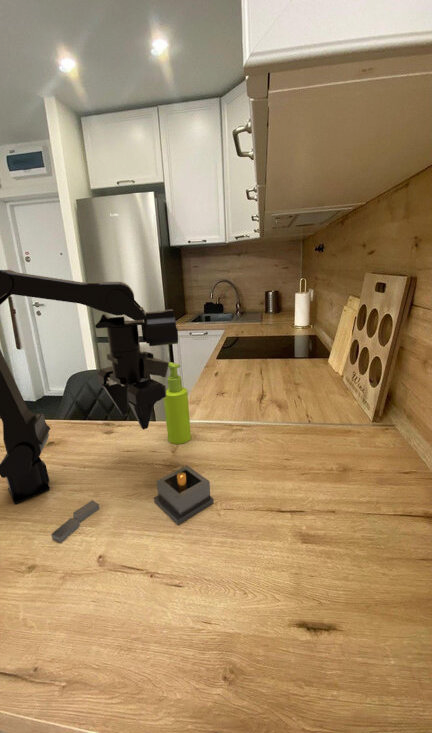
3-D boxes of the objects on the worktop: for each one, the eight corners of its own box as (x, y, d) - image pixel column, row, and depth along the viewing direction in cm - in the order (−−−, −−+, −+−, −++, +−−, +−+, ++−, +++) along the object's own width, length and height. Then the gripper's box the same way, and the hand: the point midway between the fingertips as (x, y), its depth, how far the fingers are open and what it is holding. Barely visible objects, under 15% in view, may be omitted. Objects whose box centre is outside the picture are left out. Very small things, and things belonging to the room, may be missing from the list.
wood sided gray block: (61, 544, 54) (59, 537, 53) (52, 541, 55) (51, 534, 54) (80, 527, 57) (79, 521, 57) (72, 524, 58) (70, 517, 58)
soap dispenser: (176, 429, 89) (170, 358, 83) (195, 436, 85) (190, 363, 79) (160, 438, 85) (152, 364, 79) (179, 446, 81) (172, 369, 75)
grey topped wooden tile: (80, 523, 58) (79, 517, 58) (74, 519, 59) (72, 512, 59) (99, 510, 61) (98, 504, 61) (93, 506, 62) (92, 500, 62)
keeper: (178, 525, 56) (175, 496, 54) (154, 501, 62) (151, 474, 60) (213, 502, 61) (212, 475, 59) (188, 483, 67) (186, 457, 65)
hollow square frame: (179, 516, 57) (177, 499, 56) (158, 496, 62) (156, 480, 61) (210, 497, 61) (209, 481, 60) (188, 480, 66) (186, 465, 65)
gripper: (186, 348, 62) (192, 423, 66) (139, 335, 76) (146, 398, 80) (132, 361, 55) (142, 443, 60) (91, 344, 69) (102, 412, 73)
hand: (134, 421), depth 68 cm, fingers open, 9 cm apart
